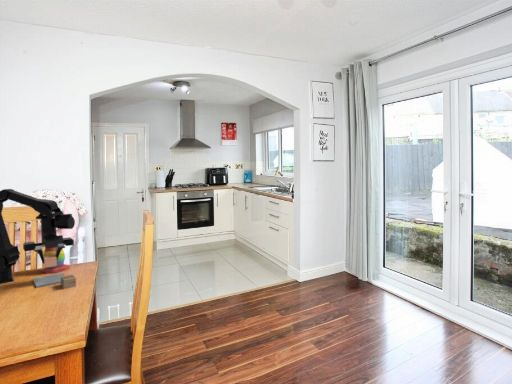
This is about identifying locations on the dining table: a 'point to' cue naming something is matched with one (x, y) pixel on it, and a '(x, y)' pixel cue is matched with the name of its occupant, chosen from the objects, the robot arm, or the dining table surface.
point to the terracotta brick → (50, 261)
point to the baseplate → (48, 280)
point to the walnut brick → (68, 281)
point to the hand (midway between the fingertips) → (49, 262)
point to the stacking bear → (60, 261)
